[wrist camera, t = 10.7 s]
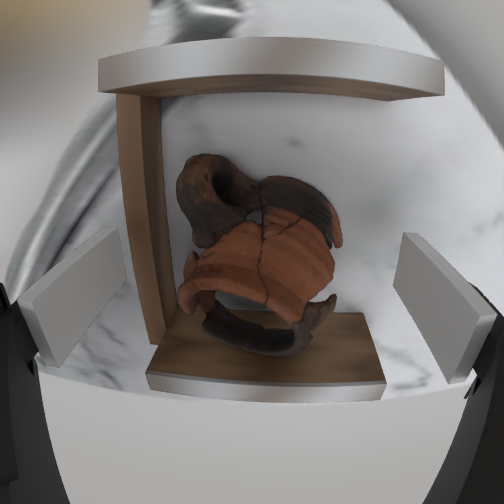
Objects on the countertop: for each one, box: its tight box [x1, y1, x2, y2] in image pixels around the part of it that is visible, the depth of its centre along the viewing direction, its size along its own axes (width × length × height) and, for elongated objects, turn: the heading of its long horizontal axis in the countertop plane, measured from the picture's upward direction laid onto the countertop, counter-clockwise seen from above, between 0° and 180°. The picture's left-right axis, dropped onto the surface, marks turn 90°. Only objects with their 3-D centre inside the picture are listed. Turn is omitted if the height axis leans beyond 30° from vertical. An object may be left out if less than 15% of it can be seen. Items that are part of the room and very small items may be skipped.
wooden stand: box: [98, 37, 445, 403], centre depth 16 cm, size 16×18×7 cm
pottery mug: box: [176, 154, 343, 356], centre depth 18 cm, size 12×9×8 cm
